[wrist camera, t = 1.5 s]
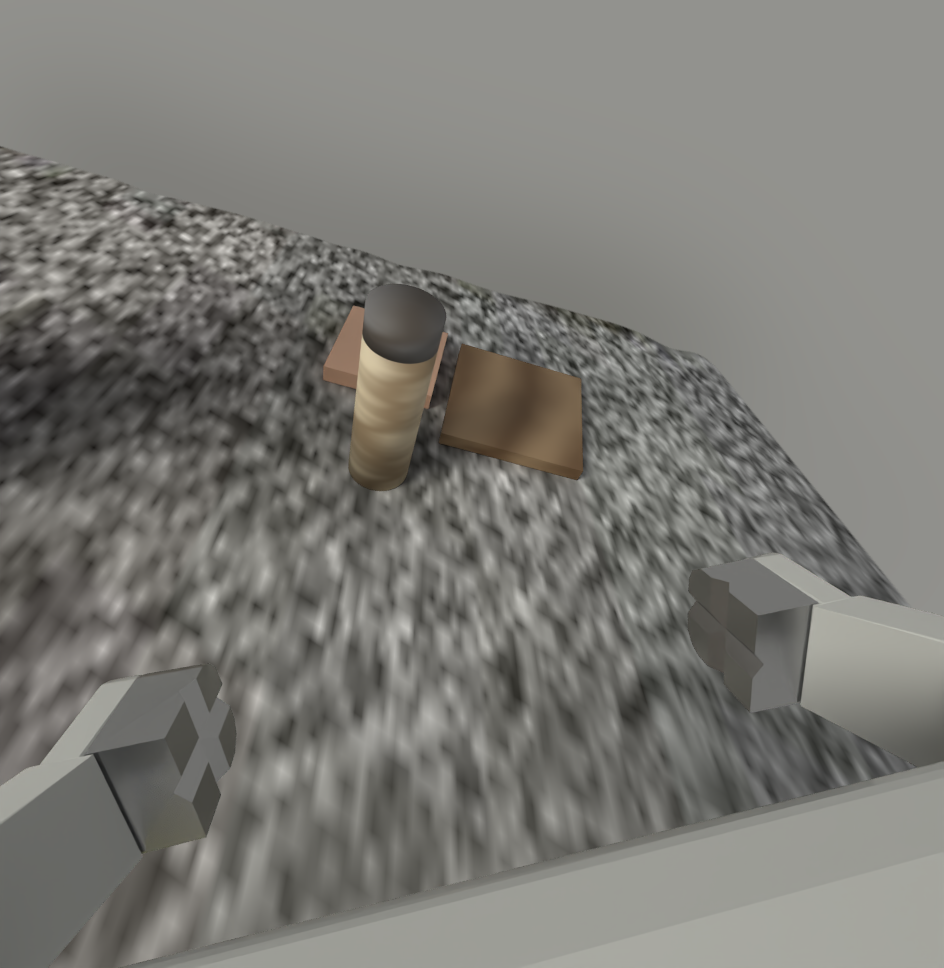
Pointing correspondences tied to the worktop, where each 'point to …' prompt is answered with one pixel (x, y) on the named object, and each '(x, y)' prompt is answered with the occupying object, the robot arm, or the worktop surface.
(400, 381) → the beech tool handle
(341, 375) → the frame
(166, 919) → the worktop surface
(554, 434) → the walnut board
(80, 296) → the worktop surface
